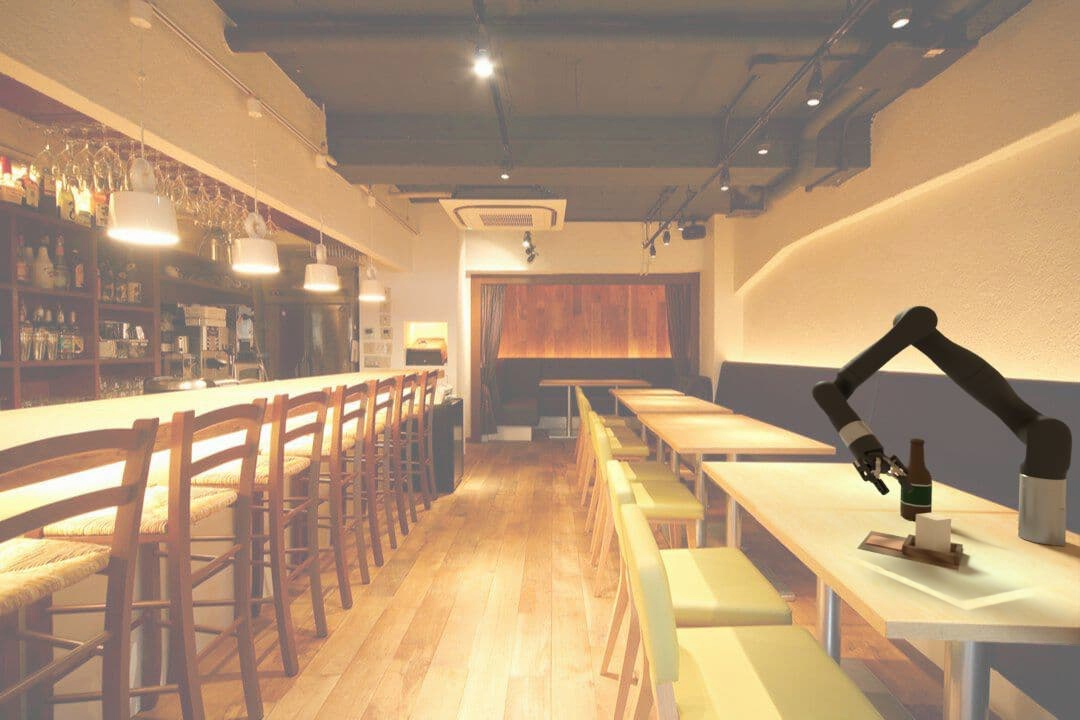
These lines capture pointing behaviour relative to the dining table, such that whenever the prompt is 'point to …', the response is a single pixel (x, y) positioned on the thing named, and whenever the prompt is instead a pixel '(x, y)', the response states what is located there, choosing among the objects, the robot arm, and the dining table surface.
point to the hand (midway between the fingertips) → (898, 492)
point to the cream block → (933, 532)
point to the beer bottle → (917, 484)
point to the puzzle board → (911, 550)
